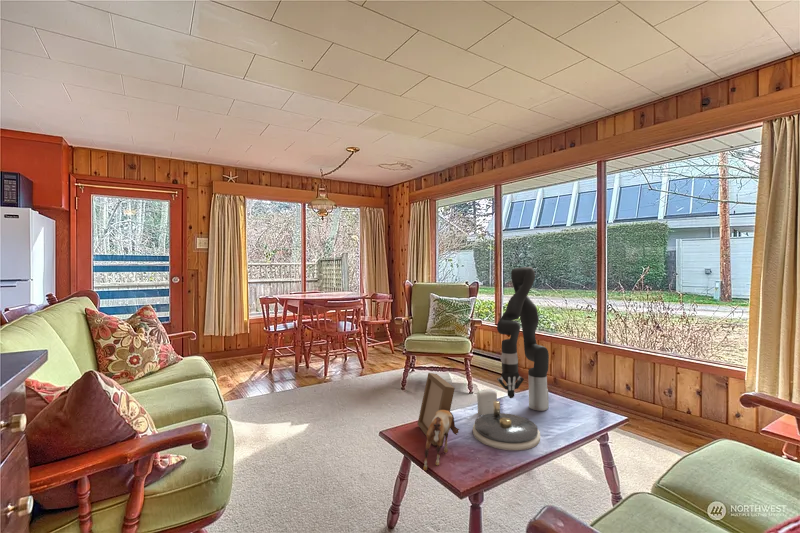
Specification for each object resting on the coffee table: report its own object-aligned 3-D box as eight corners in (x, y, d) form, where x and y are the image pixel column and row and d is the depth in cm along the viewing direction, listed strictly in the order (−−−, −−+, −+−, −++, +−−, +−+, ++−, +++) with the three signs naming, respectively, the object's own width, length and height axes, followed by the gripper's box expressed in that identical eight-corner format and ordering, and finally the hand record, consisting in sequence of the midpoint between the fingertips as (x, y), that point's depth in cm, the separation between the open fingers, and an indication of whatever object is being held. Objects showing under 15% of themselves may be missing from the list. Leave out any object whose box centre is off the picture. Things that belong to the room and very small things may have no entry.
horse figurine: (434, 481, 131) (439, 424, 130) (414, 473, 134) (419, 418, 133) (458, 442, 159) (463, 395, 158) (441, 437, 162) (445, 391, 161)
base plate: (506, 416, 185) (505, 412, 185) (555, 439, 160) (554, 434, 160) (459, 429, 171) (459, 425, 171) (505, 457, 146) (505, 452, 146)
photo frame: (433, 447, 154) (432, 387, 155) (417, 426, 175) (417, 373, 176) (465, 443, 158) (465, 384, 158) (446, 422, 179) (446, 371, 179)
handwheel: (468, 417, 178) (468, 402, 178) (523, 415, 180) (522, 399, 180) (485, 444, 151) (484, 426, 151) (549, 441, 153) (548, 423, 153)
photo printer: (480, 416, 186) (479, 391, 186) (476, 413, 190) (475, 389, 190) (498, 414, 188) (498, 389, 188) (494, 410, 192) (494, 387, 192)
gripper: (519, 358, 182) (521, 393, 182) (493, 360, 181) (495, 395, 181) (526, 362, 174) (527, 399, 174) (499, 364, 173) (500, 401, 173)
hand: (511, 397), depth 178 cm, fingers closed
